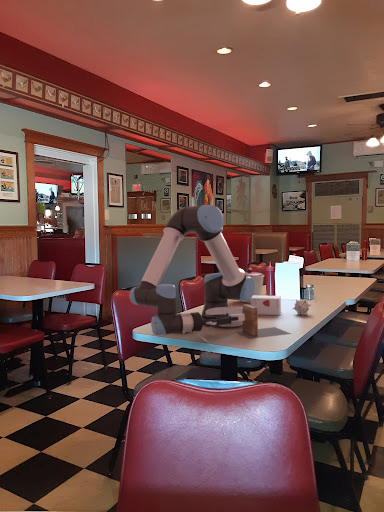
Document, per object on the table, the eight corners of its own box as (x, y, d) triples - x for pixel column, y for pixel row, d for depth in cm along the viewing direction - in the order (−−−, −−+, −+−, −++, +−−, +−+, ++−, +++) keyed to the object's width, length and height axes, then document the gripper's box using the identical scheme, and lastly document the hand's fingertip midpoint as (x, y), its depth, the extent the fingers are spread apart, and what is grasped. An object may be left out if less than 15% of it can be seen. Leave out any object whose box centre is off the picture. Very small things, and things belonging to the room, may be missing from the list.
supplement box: (250, 297, 214) (279, 298, 209) (252, 295, 222) (280, 295, 218) (250, 314, 214) (279, 315, 210) (253, 311, 223) (281, 312, 218)
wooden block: (252, 336, 167) (252, 307, 166) (242, 332, 175) (242, 304, 175) (258, 336, 168) (257, 307, 167) (247, 331, 176) (247, 304, 176)
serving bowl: (214, 332, 177) (214, 317, 176) (200, 322, 197) (199, 308, 196) (258, 328, 182) (258, 313, 182) (240, 319, 203) (239, 305, 202)
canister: (252, 305, 241) (251, 269, 240) (229, 302, 254) (228, 268, 253) (270, 301, 253) (270, 267, 252) (248, 298, 266) (247, 266, 265)
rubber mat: (248, 339, 164) (248, 338, 164) (234, 332, 176) (234, 331, 176) (291, 334, 171) (291, 333, 171) (274, 328, 183) (274, 327, 183)
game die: (298, 322, 211) (287, 307, 210) (302, 313, 218) (290, 299, 217) (313, 315, 205) (301, 300, 205) (316, 306, 212) (304, 291, 212)
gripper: (185, 328, 168) (237, 322, 176) (196, 335, 156) (251, 329, 164) (185, 310, 168) (236, 305, 176) (195, 316, 155) (251, 310, 163)
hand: (243, 316), depth 170 cm, fingers closed
